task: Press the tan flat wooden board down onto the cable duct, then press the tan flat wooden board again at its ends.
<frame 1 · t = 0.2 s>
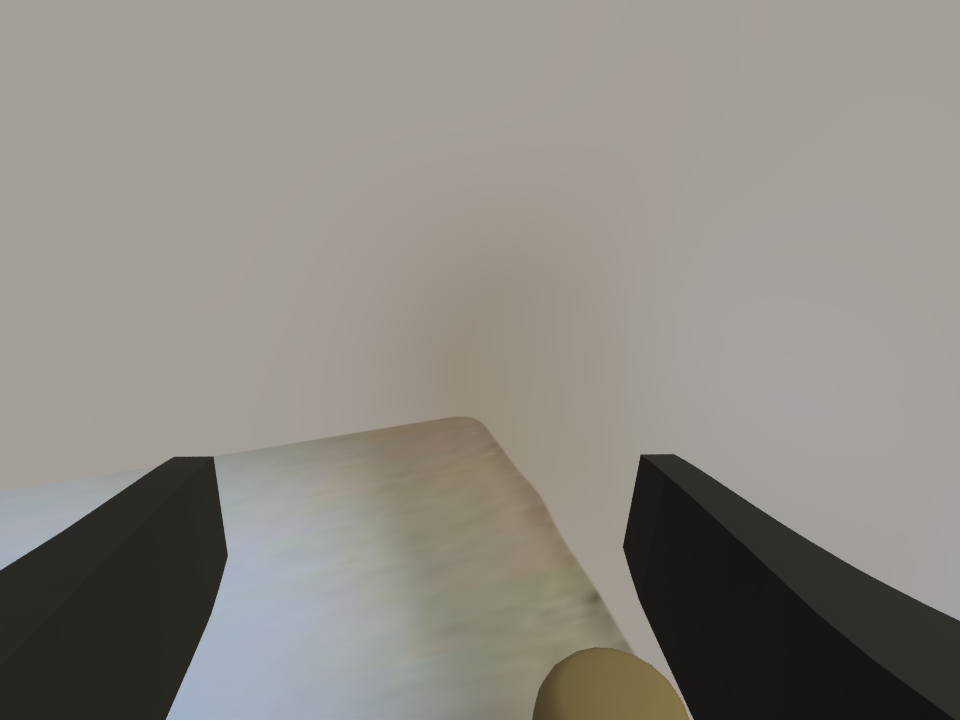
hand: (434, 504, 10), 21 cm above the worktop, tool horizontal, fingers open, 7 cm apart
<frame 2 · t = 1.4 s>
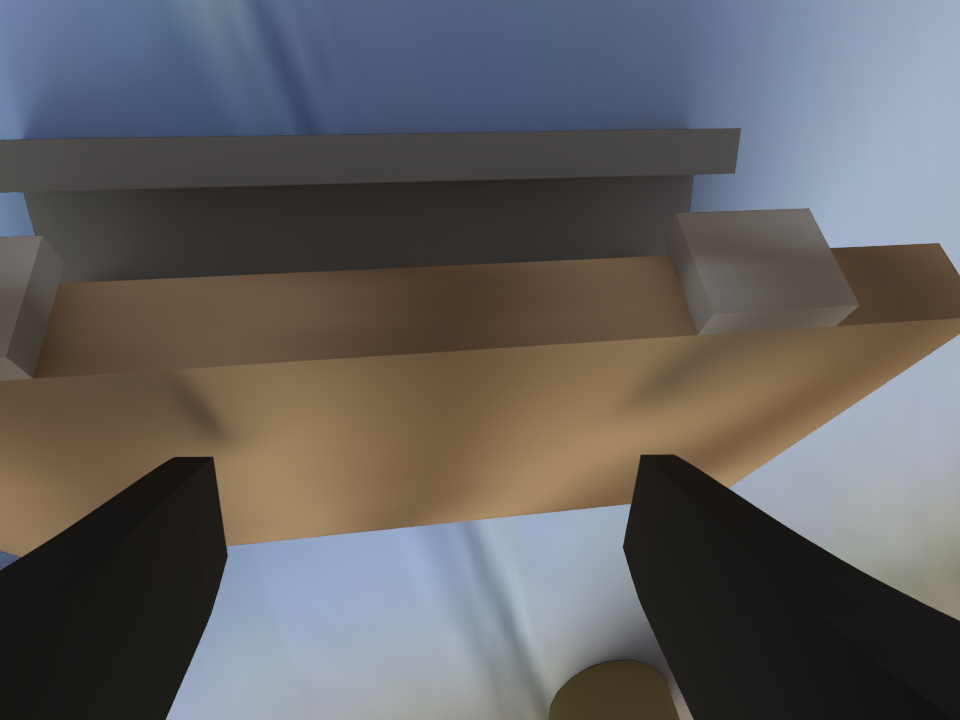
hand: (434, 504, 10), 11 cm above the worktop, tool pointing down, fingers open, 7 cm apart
cork: (607, 703, 29), on the worktop
cable duct: (391, 294, 20), on the worktop
tan flat wooden board: (398, 424, 13), point 7 cm above the worktop, hinge at 40.0°
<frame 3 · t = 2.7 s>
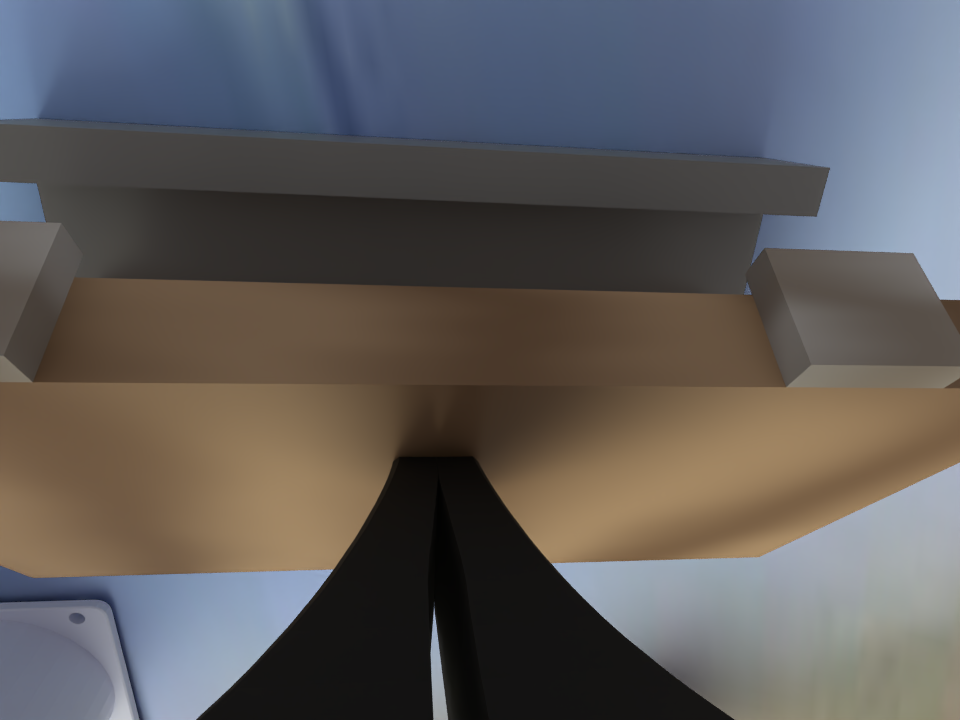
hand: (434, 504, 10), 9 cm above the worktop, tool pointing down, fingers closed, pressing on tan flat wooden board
cable duct: (423, 311, 18), on the worktop
tan flat wooden board: (426, 457, 12), point 7 cm above the worktop, hinge at 35.2°, touching gripper
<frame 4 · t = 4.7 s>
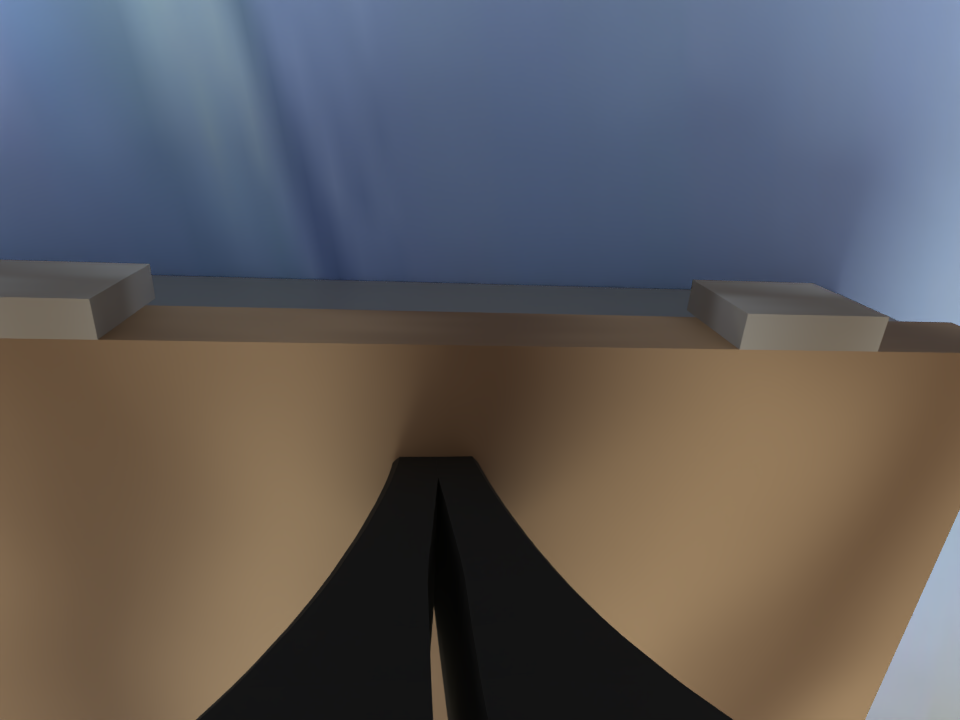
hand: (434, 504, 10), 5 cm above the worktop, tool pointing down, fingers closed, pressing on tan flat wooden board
cable duct: (426, 468, 15), on the worktop
tan flat wooden board: (429, 556, 12), point 4 cm above the worktop, hinge at -0.6°, touching gripper
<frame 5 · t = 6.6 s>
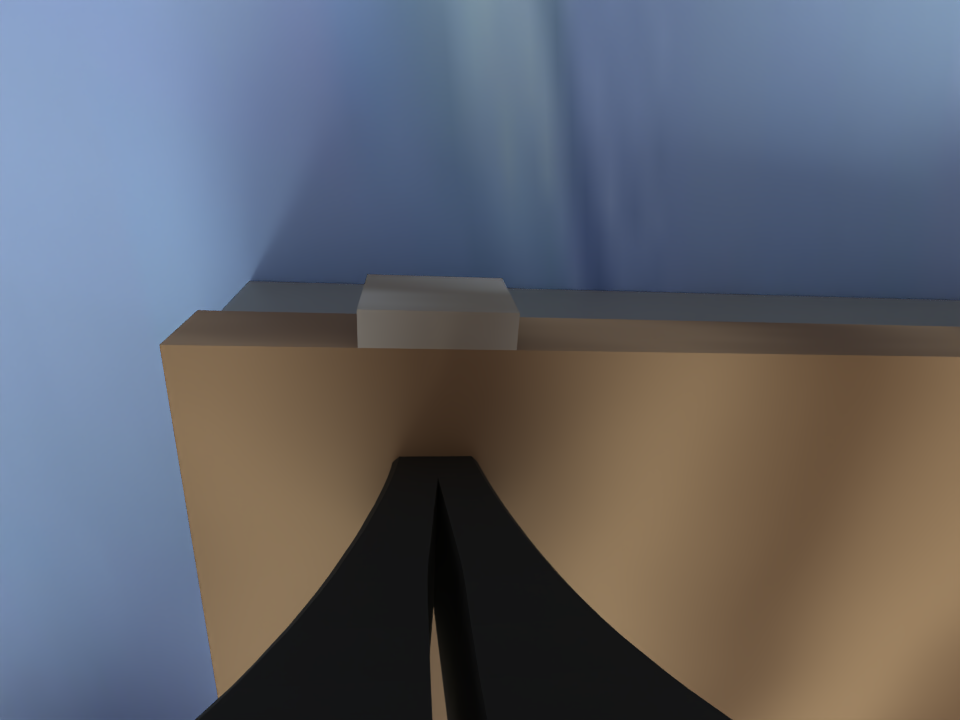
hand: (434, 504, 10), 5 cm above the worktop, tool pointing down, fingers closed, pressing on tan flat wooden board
cable duct: (646, 468, 16), on the worktop
tan flat wooden board: (716, 552, 12), point 4 cm above the worktop, hinge at -0.6°, touching gripper
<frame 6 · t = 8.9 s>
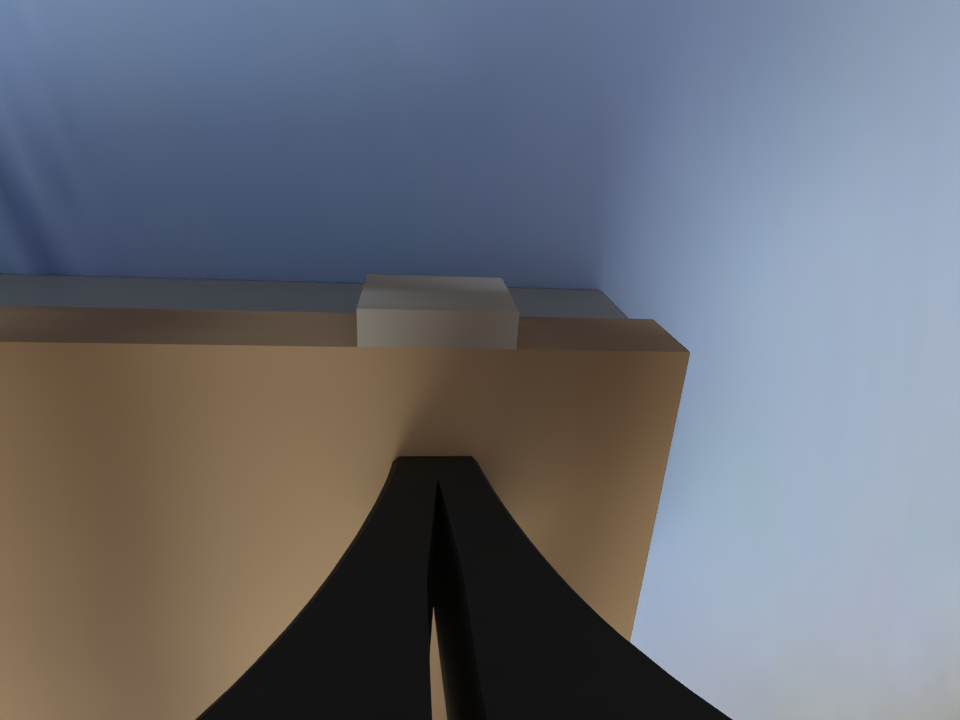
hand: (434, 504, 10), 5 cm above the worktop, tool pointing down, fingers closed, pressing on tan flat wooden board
cable duct: (185, 472, 15), on the worktop
tan flat wooden board: (108, 566, 11), point 4 cm above the worktop, hinge at -0.6°, touching gripper
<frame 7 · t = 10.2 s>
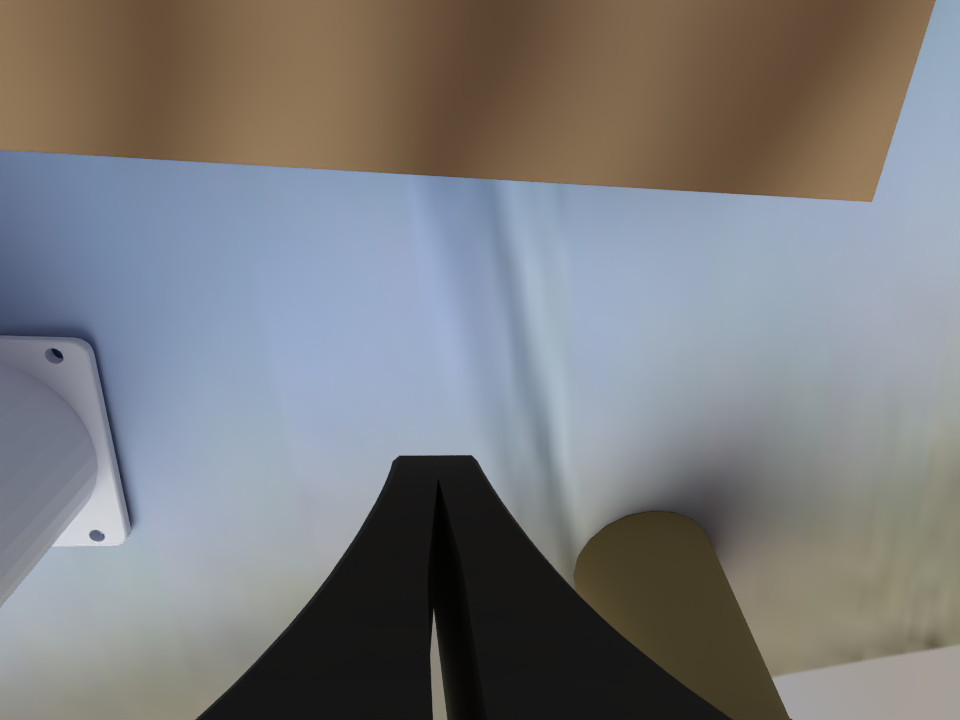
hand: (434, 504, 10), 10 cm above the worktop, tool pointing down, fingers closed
cork: (642, 565, 25), on the worktop
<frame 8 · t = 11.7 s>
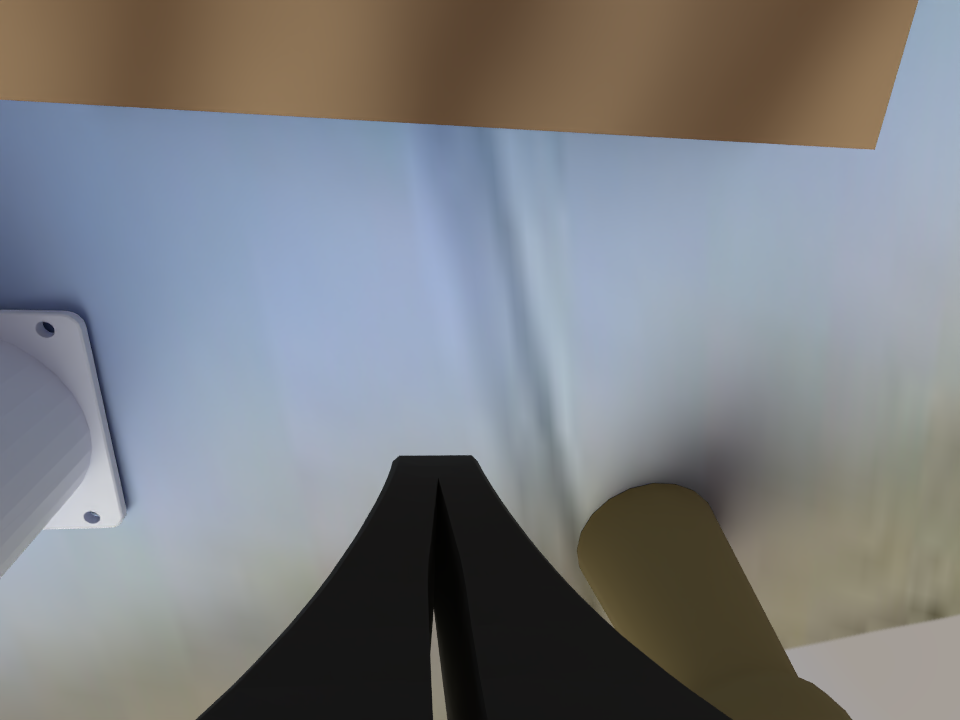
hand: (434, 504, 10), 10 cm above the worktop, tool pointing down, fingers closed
cork: (645, 539, 25), on the worktop
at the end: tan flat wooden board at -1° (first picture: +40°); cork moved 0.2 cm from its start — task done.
